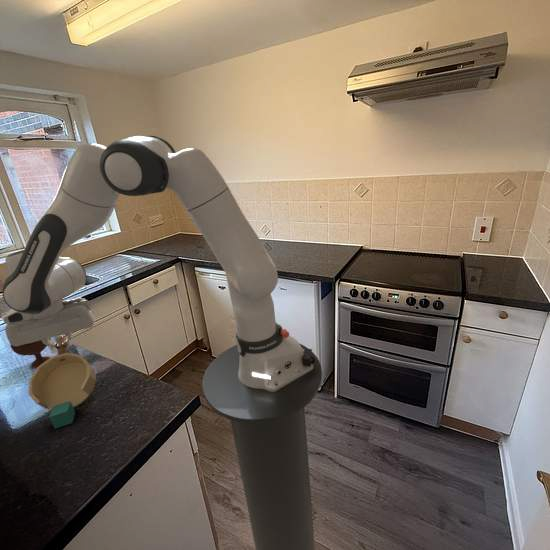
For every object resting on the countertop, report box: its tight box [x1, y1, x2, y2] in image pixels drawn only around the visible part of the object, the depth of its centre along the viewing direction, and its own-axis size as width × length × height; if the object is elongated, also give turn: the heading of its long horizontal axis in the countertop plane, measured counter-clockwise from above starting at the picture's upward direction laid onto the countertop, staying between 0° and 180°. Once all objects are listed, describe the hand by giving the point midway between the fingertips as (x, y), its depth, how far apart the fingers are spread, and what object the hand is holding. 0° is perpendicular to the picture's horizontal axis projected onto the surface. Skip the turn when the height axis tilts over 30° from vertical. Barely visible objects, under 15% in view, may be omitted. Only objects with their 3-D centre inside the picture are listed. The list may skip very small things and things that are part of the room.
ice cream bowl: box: [10, 337, 52, 368], centre depth 102 cm, size 11×11×15 cm
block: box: [48, 401, 76, 429], centre depth 78 cm, size 4×4×4 cm
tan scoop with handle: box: [28, 335, 97, 411], centre depth 85 cm, size 14×21×6 cm
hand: (62, 347), depth 87 cm, fingers closed on tan scoop with handle, 2 cm apart
